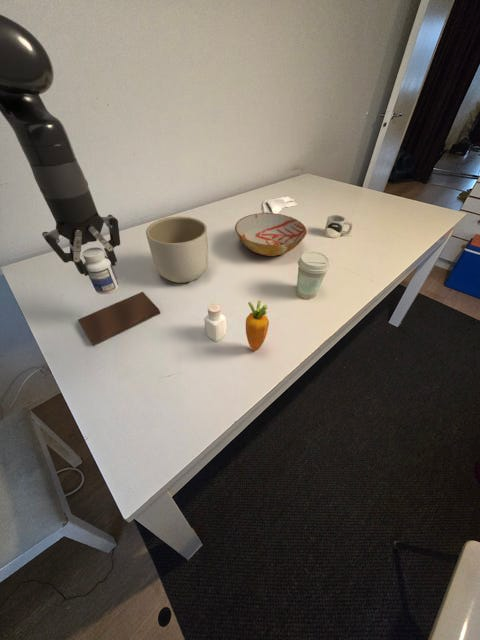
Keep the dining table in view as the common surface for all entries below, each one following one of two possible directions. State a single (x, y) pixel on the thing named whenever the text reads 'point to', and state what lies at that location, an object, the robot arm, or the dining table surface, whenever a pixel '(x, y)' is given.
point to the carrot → (256, 326)
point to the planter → (179, 248)
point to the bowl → (270, 233)
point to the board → (118, 318)
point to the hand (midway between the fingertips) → (99, 268)
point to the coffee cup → (311, 273)
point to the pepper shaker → (215, 322)
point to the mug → (336, 226)
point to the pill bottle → (100, 271)
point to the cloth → (277, 204)
